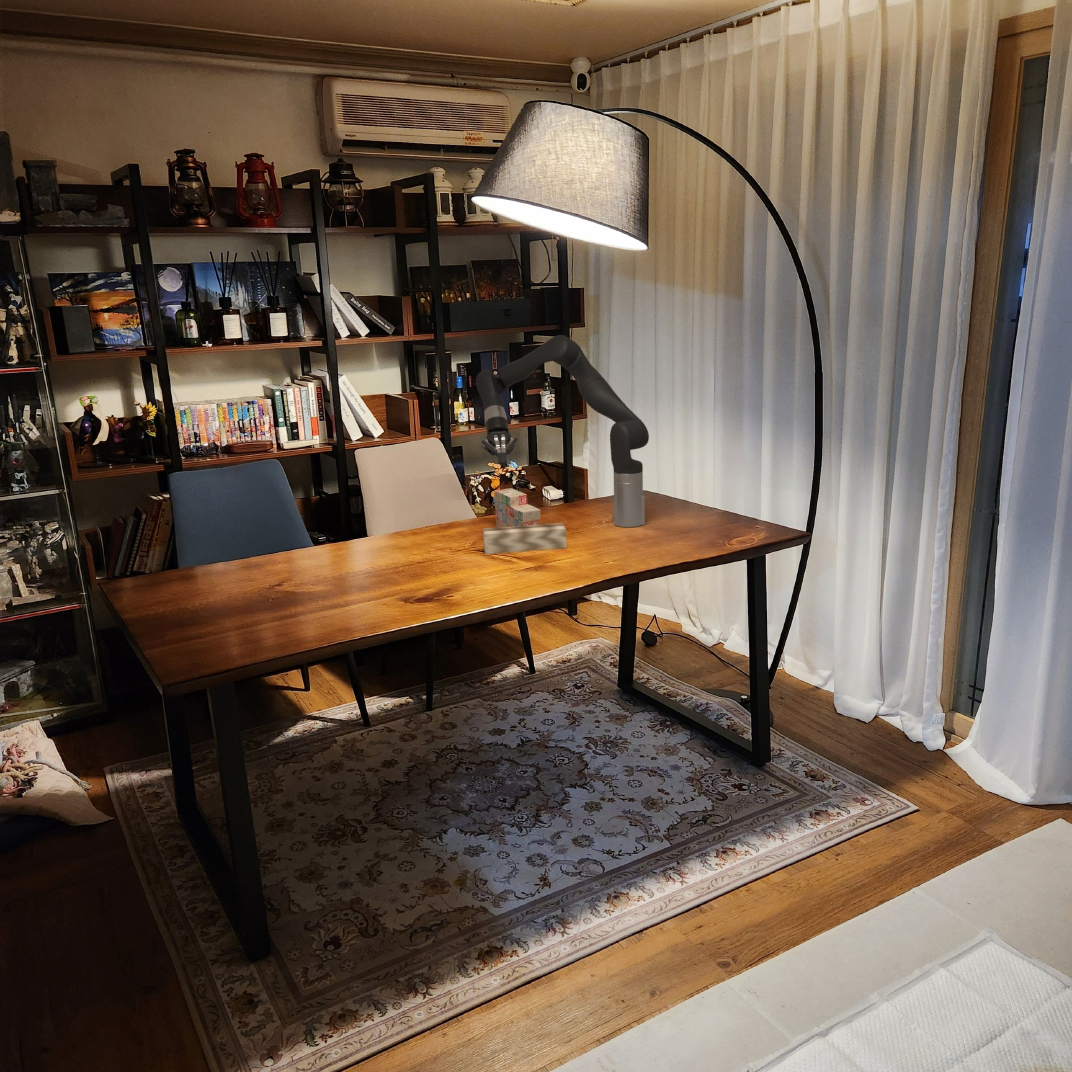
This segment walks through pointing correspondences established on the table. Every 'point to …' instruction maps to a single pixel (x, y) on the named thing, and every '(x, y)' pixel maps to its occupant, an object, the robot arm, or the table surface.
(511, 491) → the stack of blocks
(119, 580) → the table surface
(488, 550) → the grey zigzag-patterned beam
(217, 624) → the table surface
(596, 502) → the table surface
